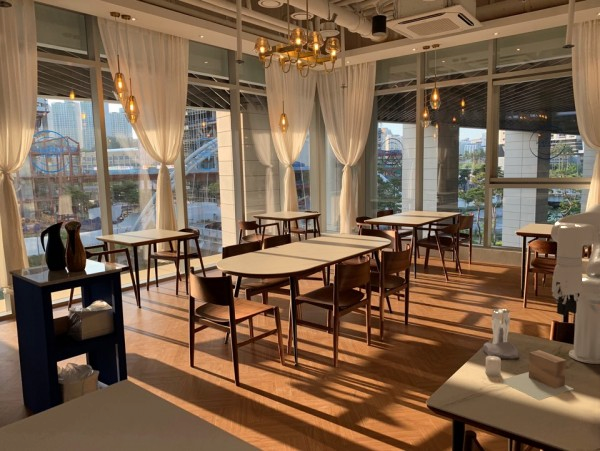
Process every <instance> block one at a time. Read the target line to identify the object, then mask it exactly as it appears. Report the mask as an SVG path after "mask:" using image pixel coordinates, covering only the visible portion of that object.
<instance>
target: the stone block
mask: <svg viewBox="0 0 600 451" xmlns="http://www.w3.org/2000/svg"><path fill="white" fill-rule="evenodd" d="M482 351H483V352H484V353H485V354H486V355H487V356H496V357H499V358H500V359H501V360H502V359H505V360H508V359H511V360H512V359H519V351H518V349H517V348H516V346H515V344H514V343H512V342H509V341H507V342H500V343H497V344H492V343H491V342H485V343H484V344H483V346H482Z"/></svg>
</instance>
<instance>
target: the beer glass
mask: <svg viewBox="0 0 600 451" xmlns="http://www.w3.org/2000/svg"><path fill="white" fill-rule="evenodd" d="M510 322H511V314H510V310H508V309H506V308H505V309H504V308H493V309H492V313H491V328H492V335H493V336H492V338H493V339H492V343H491V344H497V343H500V342H508V335H509V329H510V324H511V323H510Z"/></svg>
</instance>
